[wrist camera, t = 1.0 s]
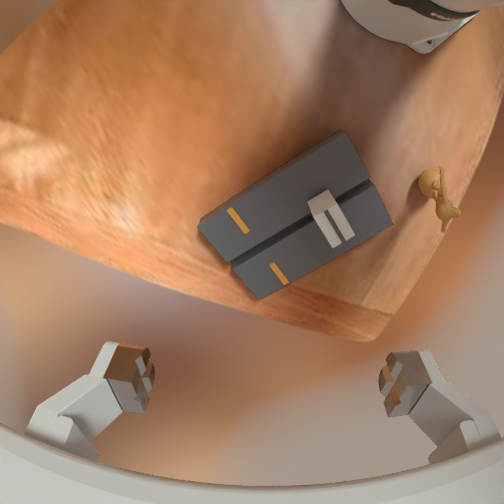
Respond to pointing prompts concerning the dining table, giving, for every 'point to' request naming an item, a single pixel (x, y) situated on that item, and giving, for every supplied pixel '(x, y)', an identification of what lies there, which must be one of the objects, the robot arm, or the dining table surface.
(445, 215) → the figurine
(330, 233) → the fader tab
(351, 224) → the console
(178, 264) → the dining table surface
